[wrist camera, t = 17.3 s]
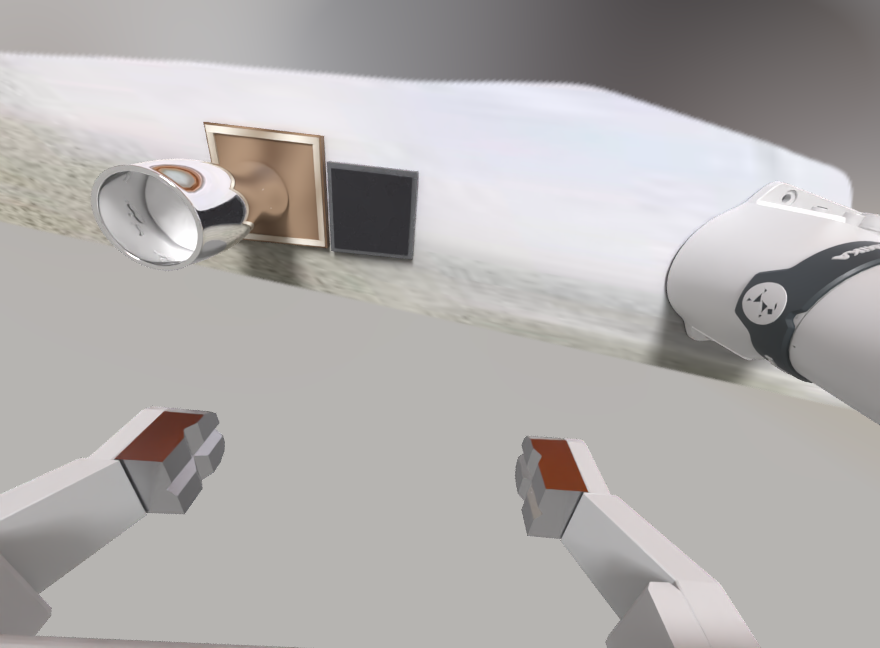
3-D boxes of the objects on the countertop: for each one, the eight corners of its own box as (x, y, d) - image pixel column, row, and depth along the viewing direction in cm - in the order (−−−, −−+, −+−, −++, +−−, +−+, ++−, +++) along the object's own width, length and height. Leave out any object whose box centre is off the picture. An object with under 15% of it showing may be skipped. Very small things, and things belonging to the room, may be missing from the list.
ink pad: (418, 171, 34) (417, 172, 33) (412, 256, 38) (411, 260, 37) (330, 161, 34) (325, 162, 32) (334, 248, 38) (330, 252, 37)
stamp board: (323, 136, 33) (320, 135, 32) (329, 246, 38) (326, 248, 37) (208, 122, 32) (201, 121, 31) (230, 236, 37) (225, 238, 36)
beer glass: (252, 237, 37) (149, 289, 23) (208, 174, 34) (59, 191, 20) (306, 210, 35) (228, 249, 22) (264, 142, 32) (145, 139, 19)
